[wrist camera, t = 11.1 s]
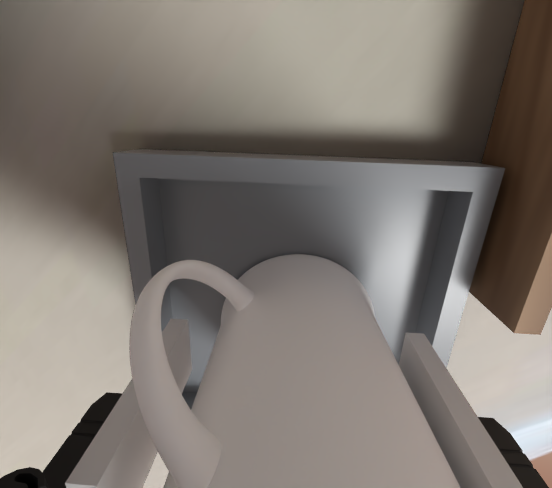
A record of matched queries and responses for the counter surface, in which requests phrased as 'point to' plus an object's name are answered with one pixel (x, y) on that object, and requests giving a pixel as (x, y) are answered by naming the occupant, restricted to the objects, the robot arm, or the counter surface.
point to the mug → (284, 386)
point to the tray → (309, 231)
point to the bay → (521, 183)
